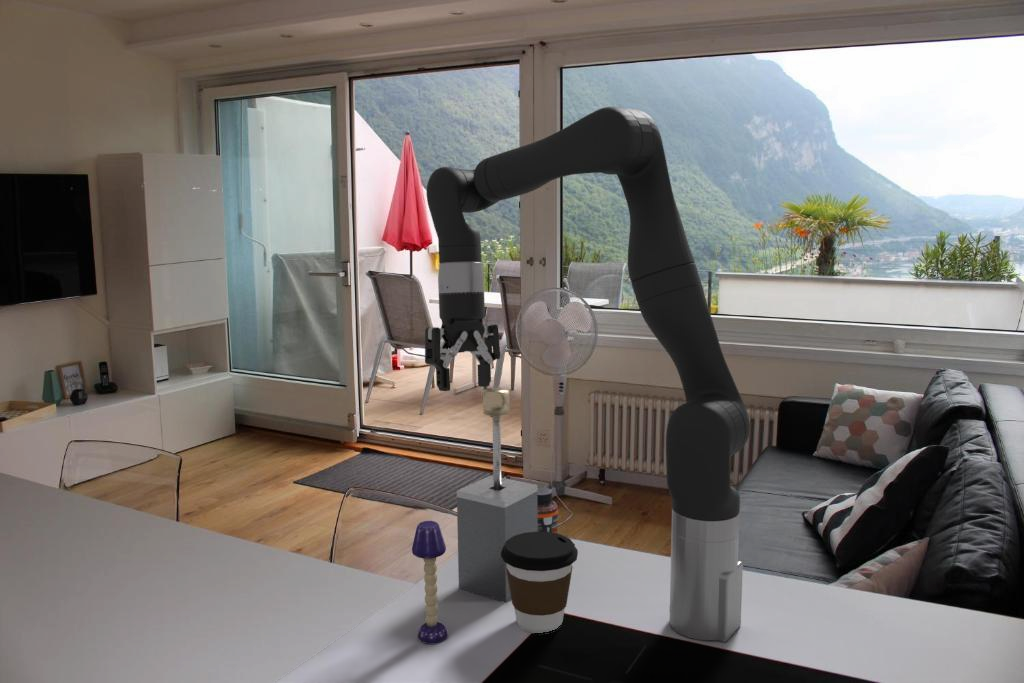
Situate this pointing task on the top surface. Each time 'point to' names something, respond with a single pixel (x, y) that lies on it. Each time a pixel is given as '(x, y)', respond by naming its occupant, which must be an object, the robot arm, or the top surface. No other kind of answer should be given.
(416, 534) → the toy lamp
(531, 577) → the coffee cup
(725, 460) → the robot arm
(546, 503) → the supplement bottle
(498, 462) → the tan rounded stemmed piece
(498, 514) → the block with hole
